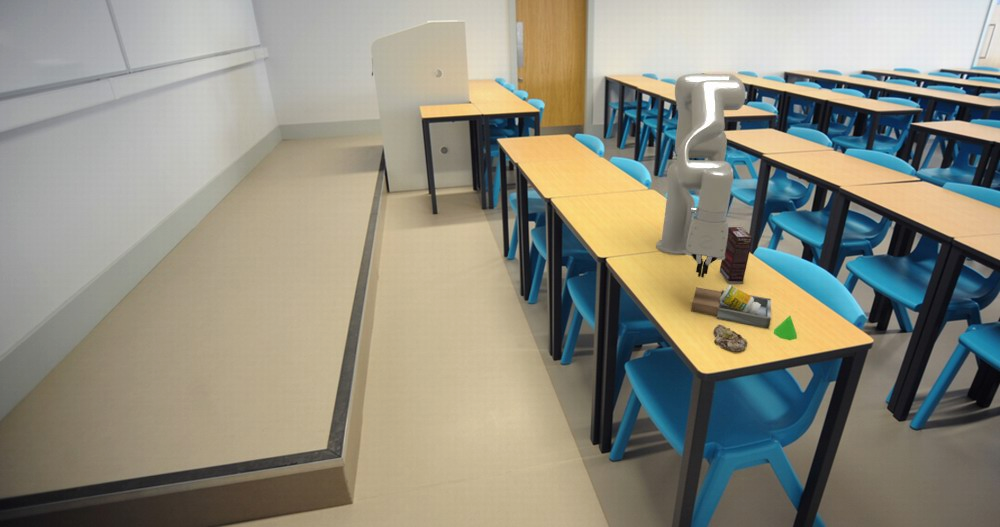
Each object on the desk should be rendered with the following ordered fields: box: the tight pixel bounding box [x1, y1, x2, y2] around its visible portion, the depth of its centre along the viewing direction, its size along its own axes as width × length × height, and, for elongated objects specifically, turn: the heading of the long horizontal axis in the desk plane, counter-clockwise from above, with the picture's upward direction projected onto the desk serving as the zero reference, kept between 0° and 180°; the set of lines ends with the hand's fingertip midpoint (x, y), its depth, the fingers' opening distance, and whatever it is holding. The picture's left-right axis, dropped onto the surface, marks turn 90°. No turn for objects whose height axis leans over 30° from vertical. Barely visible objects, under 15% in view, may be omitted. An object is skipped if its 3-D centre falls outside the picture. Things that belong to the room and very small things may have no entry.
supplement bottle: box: [720, 284, 761, 315], centre depth 145 cm, size 5×5×10 cm
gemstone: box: [773, 315, 798, 341], centre depth 136 cm, size 6×6×6 cm
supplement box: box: [719, 226, 753, 285], centre depth 164 cm, size 9×5×16 cm, turn 178°
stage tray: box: [690, 286, 772, 329], centre depth 148 cm, size 12×20×3 cm, turn 65°
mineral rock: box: [713, 324, 748, 352], centre depth 135 cm, size 11×4×8 cm
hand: (701, 275), depth 148 cm, fingers closed
